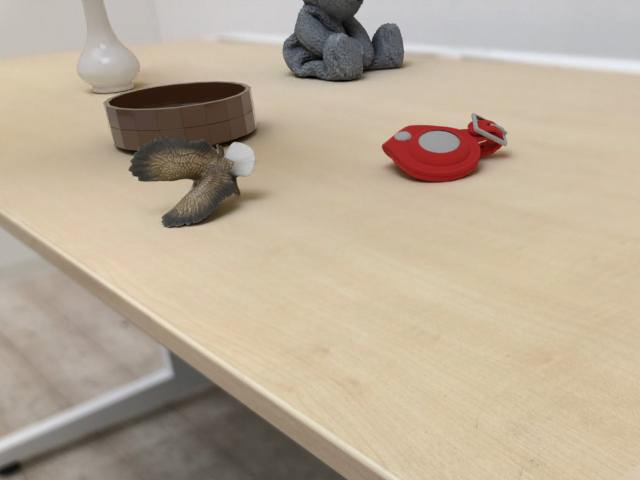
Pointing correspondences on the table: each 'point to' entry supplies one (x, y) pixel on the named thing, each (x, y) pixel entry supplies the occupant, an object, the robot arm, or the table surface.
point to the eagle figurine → (193, 173)
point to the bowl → (181, 113)
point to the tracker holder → (444, 148)
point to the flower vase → (105, 54)
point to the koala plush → (339, 42)
